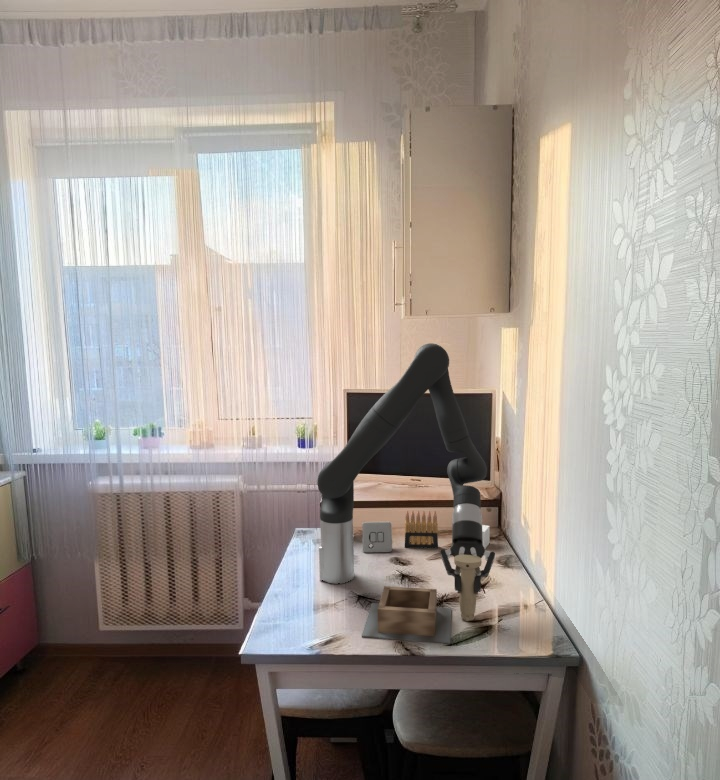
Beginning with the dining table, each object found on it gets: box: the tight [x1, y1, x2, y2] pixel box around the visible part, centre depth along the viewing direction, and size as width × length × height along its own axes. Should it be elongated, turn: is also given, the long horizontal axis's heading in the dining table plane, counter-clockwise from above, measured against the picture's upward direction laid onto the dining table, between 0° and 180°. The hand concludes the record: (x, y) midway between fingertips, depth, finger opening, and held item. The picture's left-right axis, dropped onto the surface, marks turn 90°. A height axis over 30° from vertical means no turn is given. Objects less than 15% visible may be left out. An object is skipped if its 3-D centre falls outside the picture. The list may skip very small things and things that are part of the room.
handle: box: [453, 555, 482, 622], centre depth 140 cm, size 5×6×15 cm
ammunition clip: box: [404, 510, 439, 549], centre depth 187 cm, size 11×2×12 cm, turn 85°
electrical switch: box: [361, 521, 393, 553], centre depth 186 cm, size 9×5×9 cm, turn 90°
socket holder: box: [361, 585, 452, 645], centre depth 139 cm, size 20×16×6 cm
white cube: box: [482, 524, 491, 549], centre depth 188 cm, size 6×6×6 cm
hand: (467, 592), depth 138 cm, fingers closed on handle, 3 cm apart
